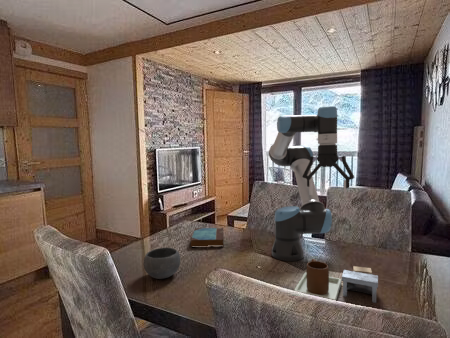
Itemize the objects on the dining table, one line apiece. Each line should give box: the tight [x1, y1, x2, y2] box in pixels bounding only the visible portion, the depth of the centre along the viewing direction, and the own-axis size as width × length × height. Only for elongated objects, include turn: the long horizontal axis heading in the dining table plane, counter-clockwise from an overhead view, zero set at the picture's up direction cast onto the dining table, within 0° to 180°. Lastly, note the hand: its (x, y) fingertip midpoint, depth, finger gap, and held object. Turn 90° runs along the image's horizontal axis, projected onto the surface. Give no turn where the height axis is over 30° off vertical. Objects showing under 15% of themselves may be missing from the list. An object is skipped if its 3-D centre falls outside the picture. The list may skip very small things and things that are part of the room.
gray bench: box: [341, 269, 379, 304], centre depth 100 cm, size 11×9×7 cm
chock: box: [352, 265, 373, 275], centre depth 106 cm, size 6×4×6 cm, turn 69°
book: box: [190, 227, 225, 247], centre depth 162 cm, size 23×18×5 cm
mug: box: [306, 258, 330, 295], centre depth 104 cm, size 12×8×9 cm, turn 174°
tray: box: [293, 271, 343, 300], centre depth 103 cm, size 14×17×2 cm
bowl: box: [143, 247, 181, 280], centre depth 118 cm, size 15×15×10 cm
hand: (327, 195), depth 119 cm, fingers open, 13 cm apart
